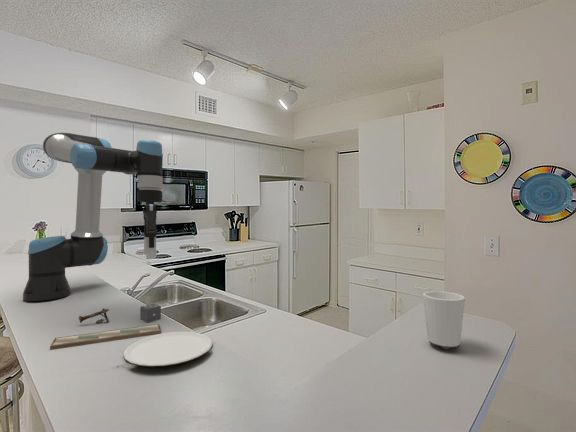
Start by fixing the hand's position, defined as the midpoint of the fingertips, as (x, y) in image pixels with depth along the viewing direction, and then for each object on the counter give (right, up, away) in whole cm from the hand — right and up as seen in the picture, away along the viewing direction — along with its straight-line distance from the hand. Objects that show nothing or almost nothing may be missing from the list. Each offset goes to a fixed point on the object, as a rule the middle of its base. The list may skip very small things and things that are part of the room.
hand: (149, 256), depth 105 cm
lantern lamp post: (-19, -20, -5) cm, 28 cm away
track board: (-5, -21, -15) cm, 26 cm away
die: (0, -21, 0) cm, 21 cm away
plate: (+15, -21, -23) cm, 34 cm away
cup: (+85, -21, -20) cm, 89 cm away
